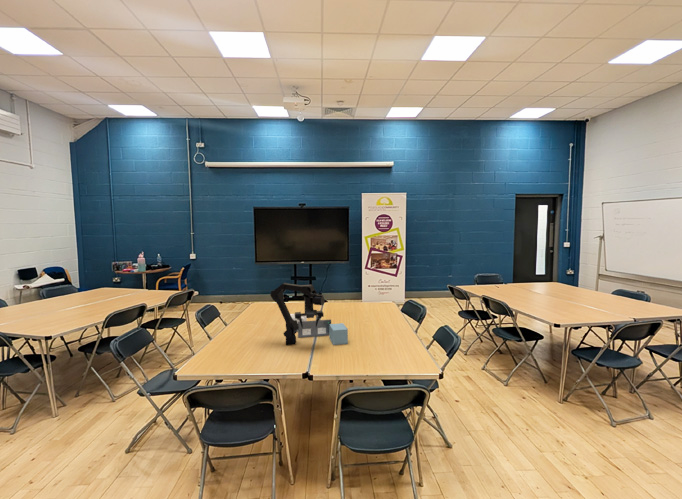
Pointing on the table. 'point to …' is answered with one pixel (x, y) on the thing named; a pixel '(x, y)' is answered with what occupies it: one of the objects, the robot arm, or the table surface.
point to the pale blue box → (338, 334)
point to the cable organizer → (298, 320)
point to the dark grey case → (313, 328)
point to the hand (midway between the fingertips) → (309, 327)
